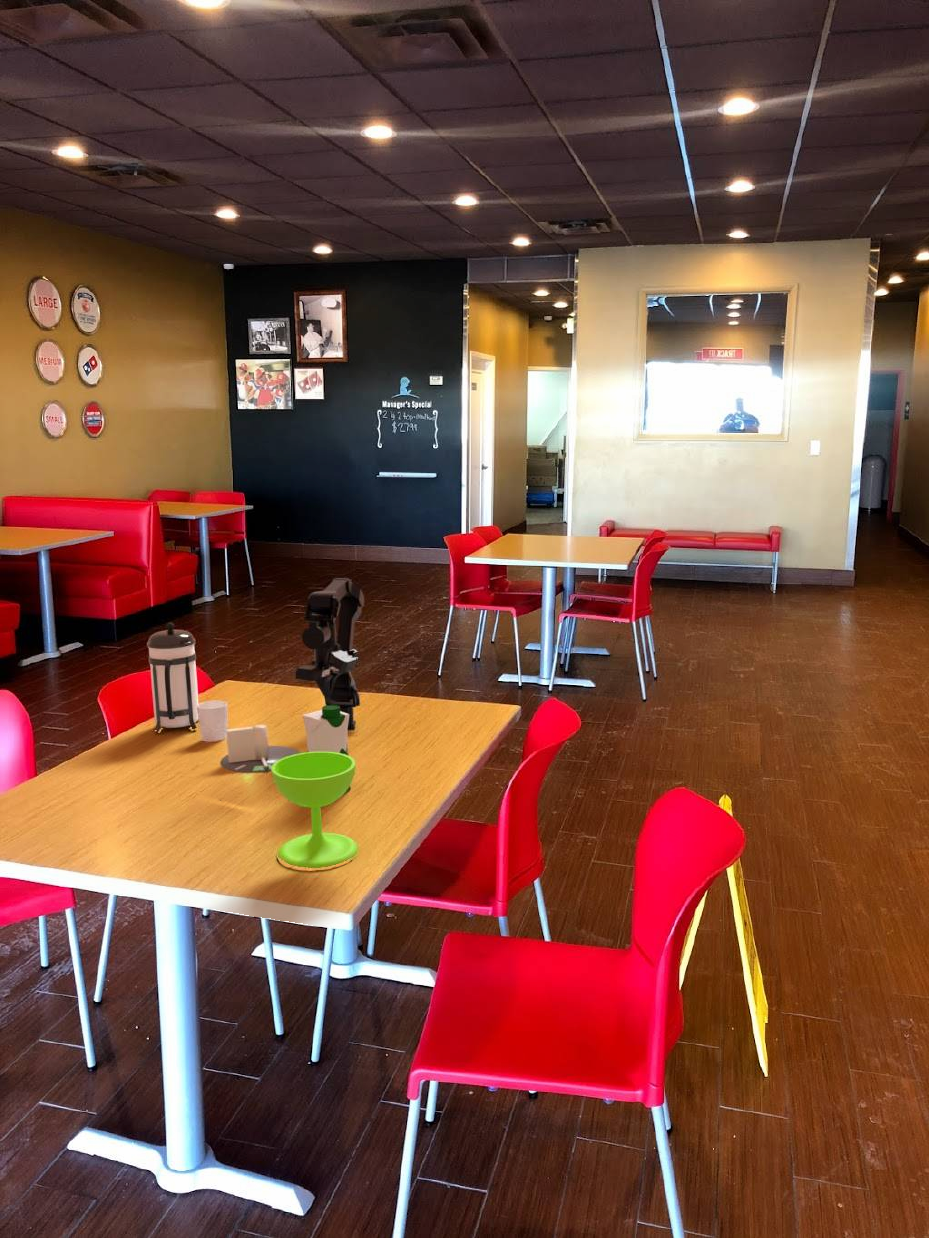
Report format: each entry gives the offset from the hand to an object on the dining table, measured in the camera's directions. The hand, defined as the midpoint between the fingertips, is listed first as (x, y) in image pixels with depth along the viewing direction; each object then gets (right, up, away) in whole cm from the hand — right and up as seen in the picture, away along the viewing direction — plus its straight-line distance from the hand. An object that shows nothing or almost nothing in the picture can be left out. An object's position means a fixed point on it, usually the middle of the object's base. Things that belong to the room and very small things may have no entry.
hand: (327, 698), depth 251 cm
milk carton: (+5, -18, -31) cm, 36 cm away
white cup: (-31, -12, +6) cm, 34 cm away
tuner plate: (-15, -15, -12) cm, 24 cm away
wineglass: (+7, -25, -64) cm, 69 cm away
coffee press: (-44, -10, +17) cm, 48 cm away
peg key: (-16, -15, -16) cm, 27 cm away
